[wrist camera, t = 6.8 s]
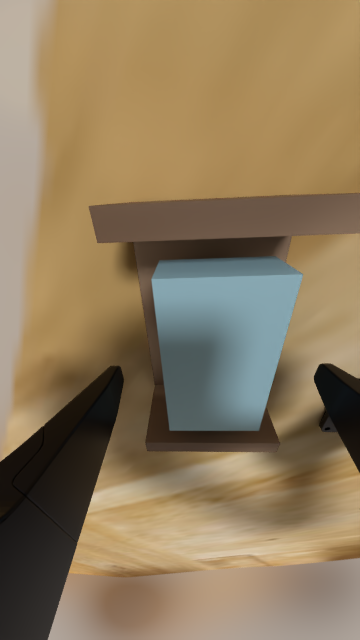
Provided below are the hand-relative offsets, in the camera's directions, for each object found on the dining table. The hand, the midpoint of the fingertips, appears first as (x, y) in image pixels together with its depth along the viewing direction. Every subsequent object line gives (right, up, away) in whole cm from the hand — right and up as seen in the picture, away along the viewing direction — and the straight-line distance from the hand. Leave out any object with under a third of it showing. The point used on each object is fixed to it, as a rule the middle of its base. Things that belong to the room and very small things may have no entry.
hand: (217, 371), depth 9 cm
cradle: (0, +2, +4) cm, 5 cm away
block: (0, +1, +2) cm, 2 cm away
